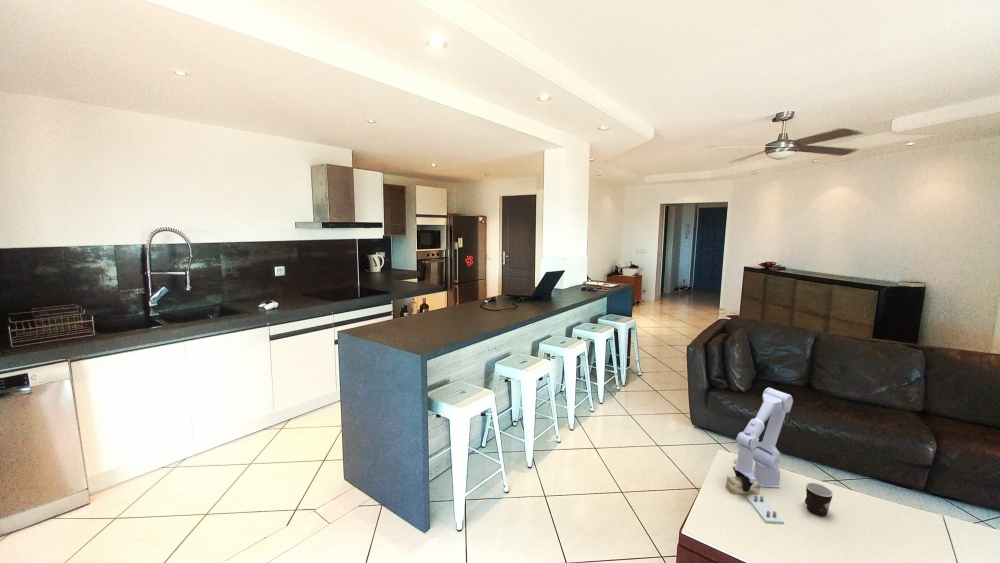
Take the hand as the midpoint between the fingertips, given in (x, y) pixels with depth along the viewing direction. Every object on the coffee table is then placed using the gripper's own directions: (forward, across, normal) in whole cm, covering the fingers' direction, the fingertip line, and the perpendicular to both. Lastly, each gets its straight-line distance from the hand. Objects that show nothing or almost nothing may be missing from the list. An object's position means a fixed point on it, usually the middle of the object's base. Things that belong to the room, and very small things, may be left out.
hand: (742, 487), depth 176 cm
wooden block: (+1, 0, 0) cm, 1 cm away
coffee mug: (+2, +11, +22) cm, 25 cm away
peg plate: (+2, +12, +2) cm, 13 cm away
